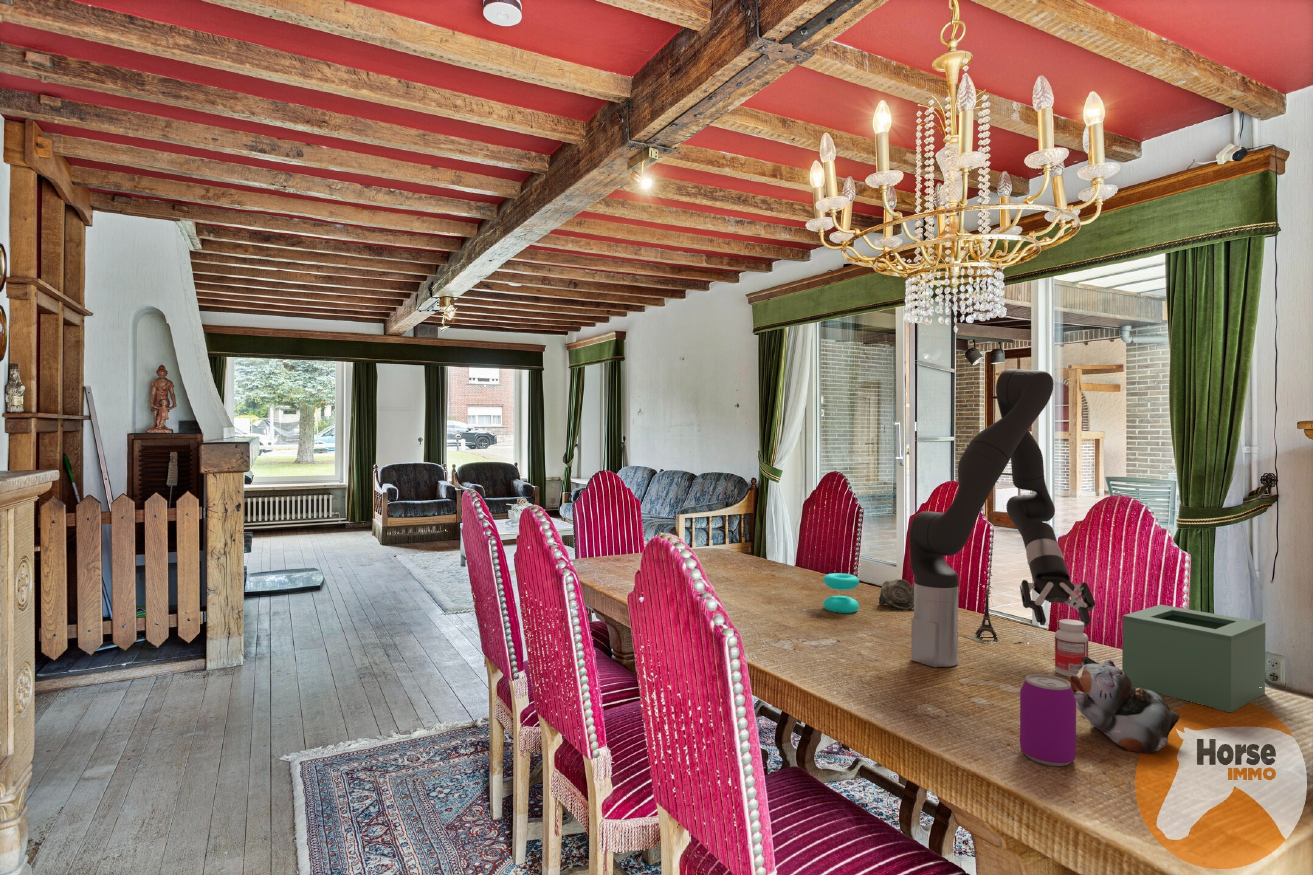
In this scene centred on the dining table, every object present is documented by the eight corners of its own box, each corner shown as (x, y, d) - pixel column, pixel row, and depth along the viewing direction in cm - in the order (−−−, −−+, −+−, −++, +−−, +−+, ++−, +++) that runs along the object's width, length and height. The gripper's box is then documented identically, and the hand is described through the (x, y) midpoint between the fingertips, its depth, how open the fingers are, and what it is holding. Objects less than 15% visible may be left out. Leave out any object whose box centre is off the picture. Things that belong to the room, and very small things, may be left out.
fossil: (898, 611, 203) (885, 577, 207) (877, 619, 210) (865, 587, 214) (925, 606, 208) (912, 573, 212) (904, 614, 215) (892, 582, 219)
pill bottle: (1066, 667, 156) (1067, 616, 156) (1094, 675, 150) (1095, 623, 150) (1048, 671, 153) (1048, 619, 153) (1075, 680, 147) (1076, 626, 147)
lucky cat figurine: (1155, 762, 110) (1104, 677, 112) (1084, 763, 119) (1039, 685, 122) (1194, 715, 117) (1146, 636, 120) (1125, 719, 127) (1082, 647, 130)
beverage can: (1087, 767, 108) (1087, 688, 108) (1039, 769, 107) (1039, 689, 107) (1055, 745, 115) (1055, 671, 115) (1009, 747, 115) (1010, 672, 115)
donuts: (846, 580, 199) (816, 575, 207) (846, 616, 199) (816, 609, 207) (865, 575, 206) (836, 570, 213) (865, 610, 206) (835, 604, 213)
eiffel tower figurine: (946, 633, 185) (946, 581, 185) (976, 629, 188) (976, 579, 188) (993, 649, 171) (994, 593, 171) (1024, 645, 174) (1025, 590, 174)
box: (1230, 712, 130) (1231, 636, 130) (1122, 684, 145) (1122, 615, 145) (1264, 693, 140) (1265, 622, 140) (1160, 668, 155) (1160, 604, 155)
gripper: (1017, 552, 165) (1033, 613, 154) (1084, 554, 163) (1105, 617, 152) (1010, 571, 171) (1025, 631, 159) (1075, 573, 168) (1095, 635, 157)
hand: (1064, 624), depth 155 cm, fingers open, 8 cm apart
